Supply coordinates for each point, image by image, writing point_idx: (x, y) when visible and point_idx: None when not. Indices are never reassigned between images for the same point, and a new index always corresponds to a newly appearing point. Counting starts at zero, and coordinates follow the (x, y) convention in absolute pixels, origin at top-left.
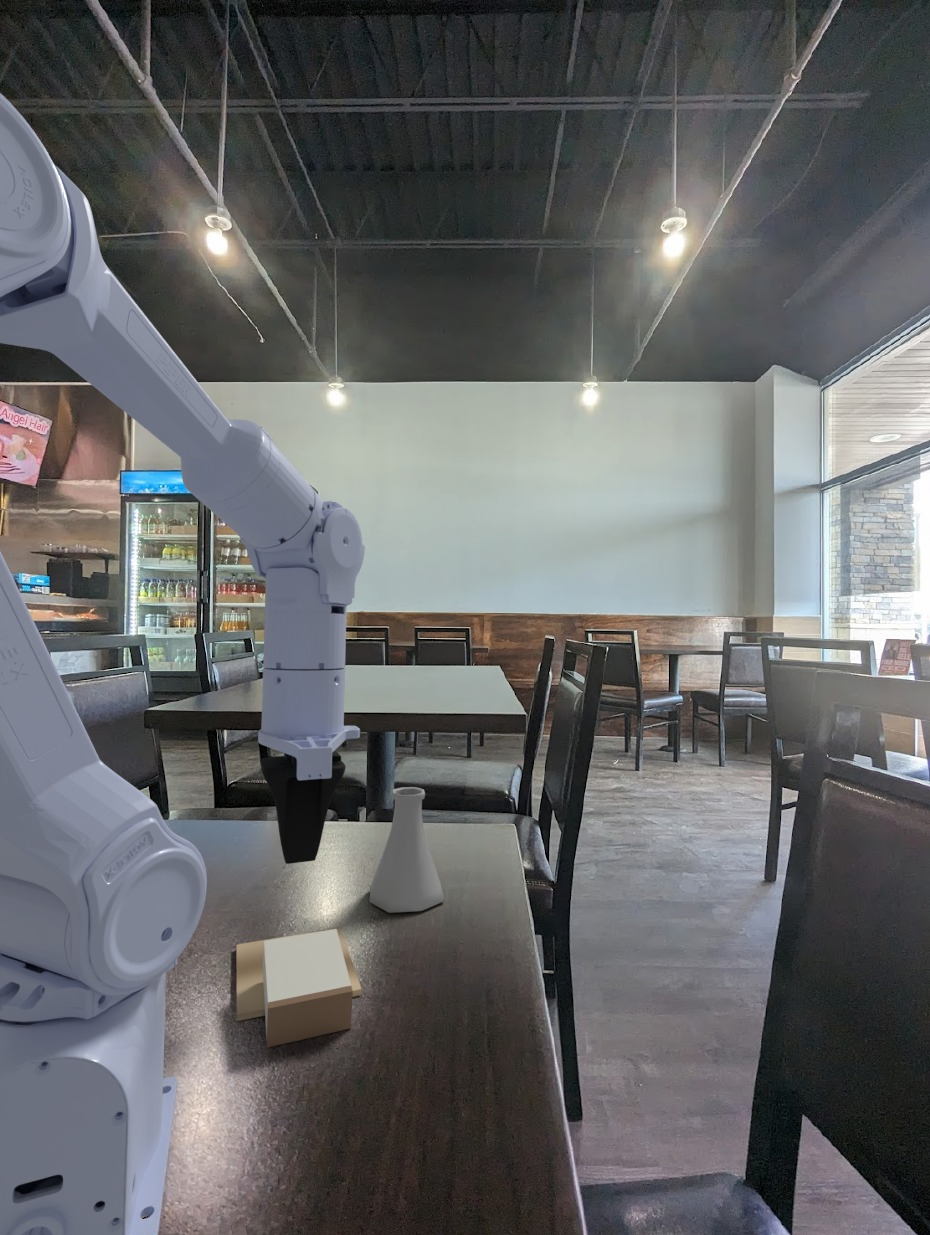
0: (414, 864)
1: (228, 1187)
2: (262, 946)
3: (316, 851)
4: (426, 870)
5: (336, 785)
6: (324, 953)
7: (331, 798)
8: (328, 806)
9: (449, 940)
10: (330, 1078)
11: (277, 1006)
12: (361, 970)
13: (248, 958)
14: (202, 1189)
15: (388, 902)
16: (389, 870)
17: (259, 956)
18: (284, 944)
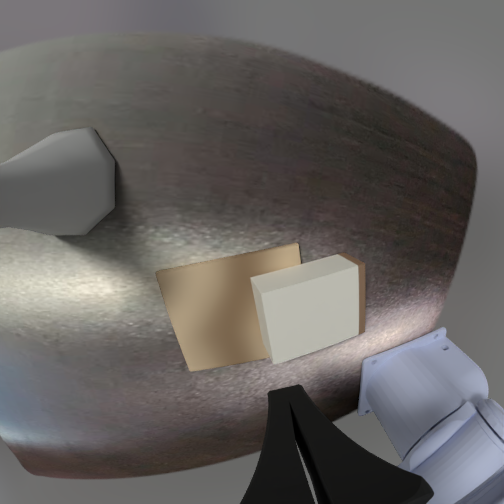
0: (68, 174)
1: (430, 307)
2: (195, 350)
3: (306, 393)
4: (70, 152)
5: (399, 468)
6: (306, 300)
7: (369, 453)
8: (355, 443)
9: (194, 126)
10: (389, 265)
11: (364, 325)
12: (248, 242)
13: (218, 358)
14: (427, 318)
15: (104, 210)
16: (68, 216)
17: (215, 350)
18: (283, 344)
